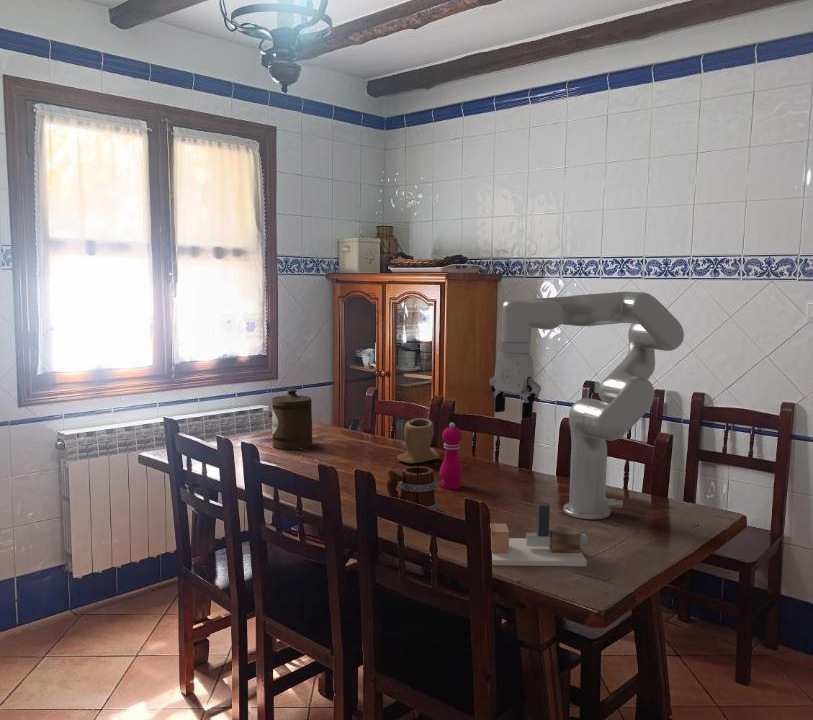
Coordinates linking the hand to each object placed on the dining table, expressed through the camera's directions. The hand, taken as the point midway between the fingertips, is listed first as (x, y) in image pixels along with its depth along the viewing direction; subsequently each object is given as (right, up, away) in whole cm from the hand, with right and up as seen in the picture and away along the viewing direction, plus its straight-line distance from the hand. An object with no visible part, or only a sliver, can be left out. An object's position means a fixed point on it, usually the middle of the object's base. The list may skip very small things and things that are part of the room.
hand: (513, 414), depth 192 cm
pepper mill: (-14, -25, +37) cm, 46 cm away
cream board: (+2, -31, -18) cm, 36 cm away
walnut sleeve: (+9, -30, -18) cm, 36 cm away
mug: (-26, -28, +11) cm, 40 cm away
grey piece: (+7, -29, -18) cm, 35 cm away
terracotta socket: (-6, -30, -18) cm, 36 cm away
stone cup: (-23, -21, +66) cm, 73 cm away
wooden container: (-71, -18, +88) cm, 115 cm away
